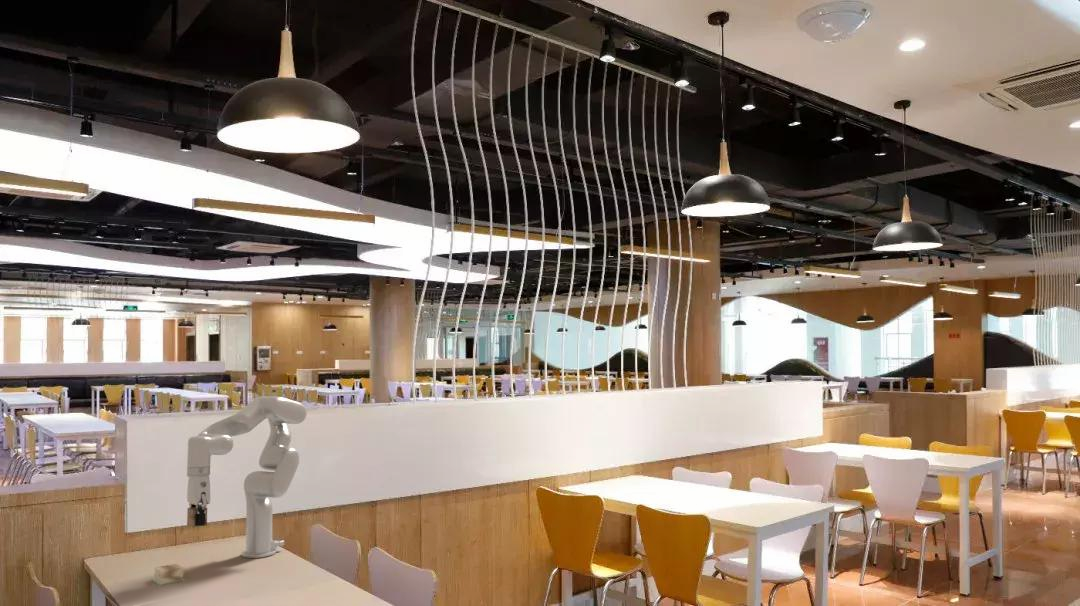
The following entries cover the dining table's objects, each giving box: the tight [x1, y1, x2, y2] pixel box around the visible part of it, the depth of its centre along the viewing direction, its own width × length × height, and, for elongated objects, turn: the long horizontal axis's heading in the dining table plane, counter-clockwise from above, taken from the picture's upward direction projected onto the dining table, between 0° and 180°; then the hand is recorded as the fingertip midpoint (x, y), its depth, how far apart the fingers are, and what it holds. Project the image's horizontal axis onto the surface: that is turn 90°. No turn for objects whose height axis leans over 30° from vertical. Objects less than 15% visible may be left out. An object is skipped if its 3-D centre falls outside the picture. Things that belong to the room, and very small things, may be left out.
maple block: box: [154, 563, 184, 585], centre depth 266 cm, size 7×7×4 cm
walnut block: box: [186, 506, 208, 528], centre depth 273 cm, size 5×5×6 cm
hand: (196, 523), depth 273 cm, fingers closed on walnut block, 4 cm apart
